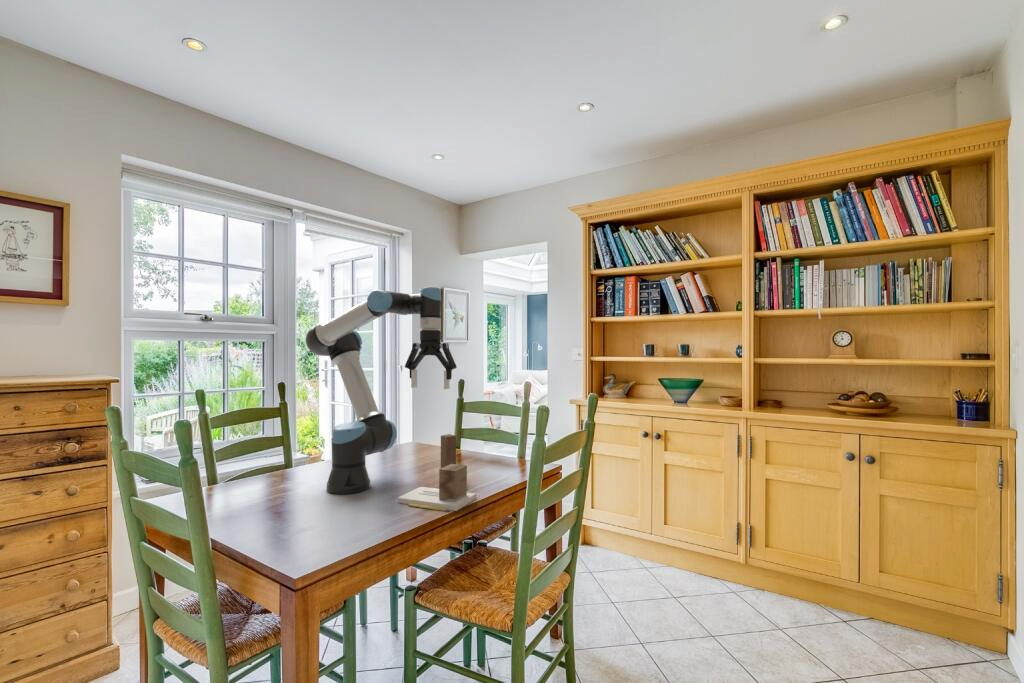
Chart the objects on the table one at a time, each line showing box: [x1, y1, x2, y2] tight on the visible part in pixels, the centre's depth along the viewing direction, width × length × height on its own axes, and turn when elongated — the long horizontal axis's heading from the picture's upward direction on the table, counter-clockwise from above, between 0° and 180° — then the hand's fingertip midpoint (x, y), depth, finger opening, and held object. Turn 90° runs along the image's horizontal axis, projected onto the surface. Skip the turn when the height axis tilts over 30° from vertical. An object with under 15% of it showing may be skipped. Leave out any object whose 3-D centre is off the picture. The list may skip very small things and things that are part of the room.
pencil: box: [408, 504, 450, 512], centre depth 156 cm, size 14×1×1 cm, turn 69°
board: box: [397, 486, 477, 512], centre depth 165 cm, size 22×14×2 cm, turn 69°
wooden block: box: [440, 433, 457, 469], centre depth 184 cm, size 9×4×18 cm, turn 38°
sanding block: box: [438, 463, 468, 502], centre depth 163 cm, size 6×8×10 cm
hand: (430, 388), depth 178 cm, fingers open, 13 cm apart
